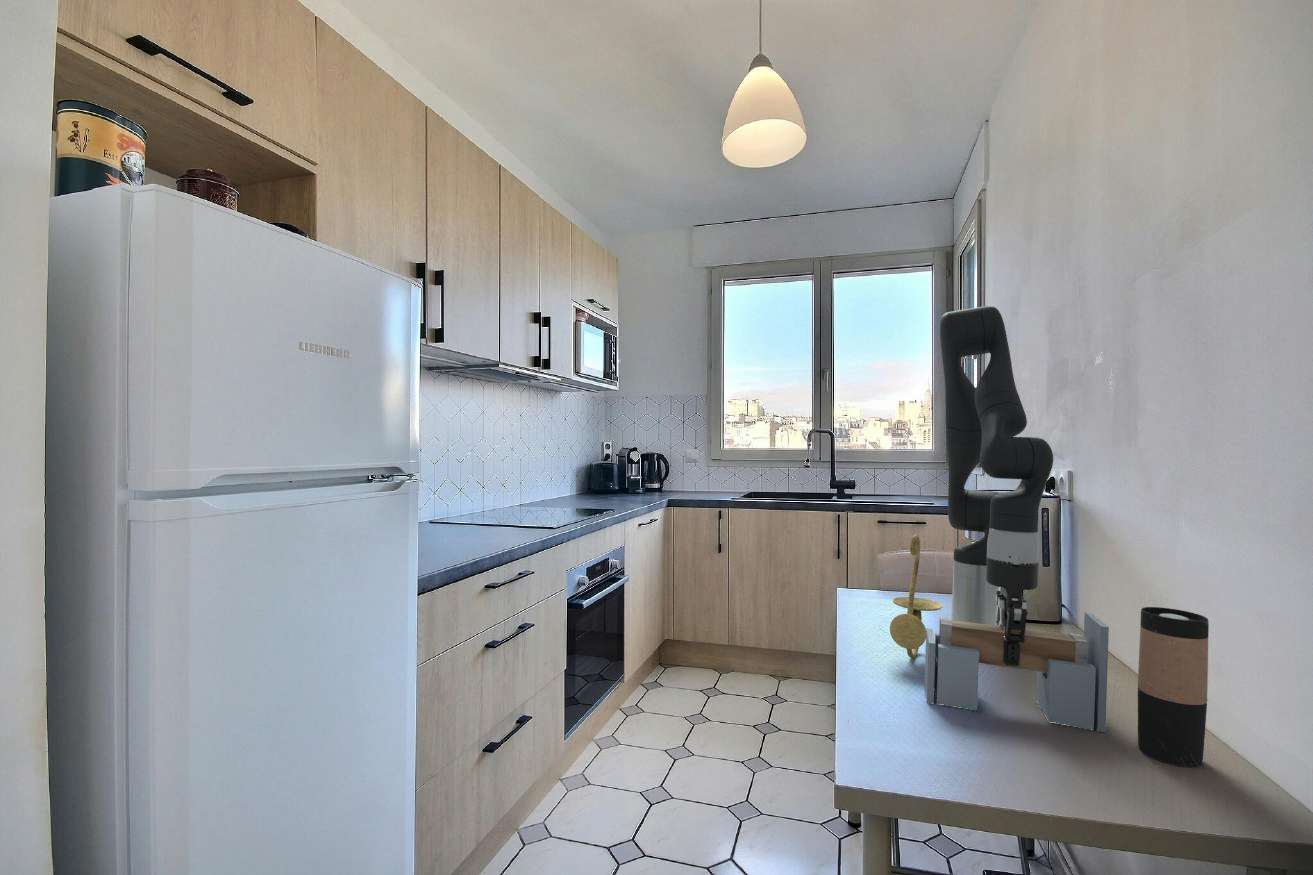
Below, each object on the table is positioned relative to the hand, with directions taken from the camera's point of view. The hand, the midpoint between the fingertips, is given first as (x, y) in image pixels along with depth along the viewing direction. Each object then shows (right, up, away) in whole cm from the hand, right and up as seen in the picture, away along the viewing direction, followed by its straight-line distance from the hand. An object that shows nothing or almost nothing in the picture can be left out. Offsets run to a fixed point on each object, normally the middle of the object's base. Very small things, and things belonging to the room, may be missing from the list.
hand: (1008, 659), depth 105 cm
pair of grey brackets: (0, -8, 0) cm, 8 cm away
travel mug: (+14, -8, -15) cm, 22 cm away
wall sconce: (-7, -8, +23) cm, 25 cm away
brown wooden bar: (0, -1, 0) cm, 1 cm away
